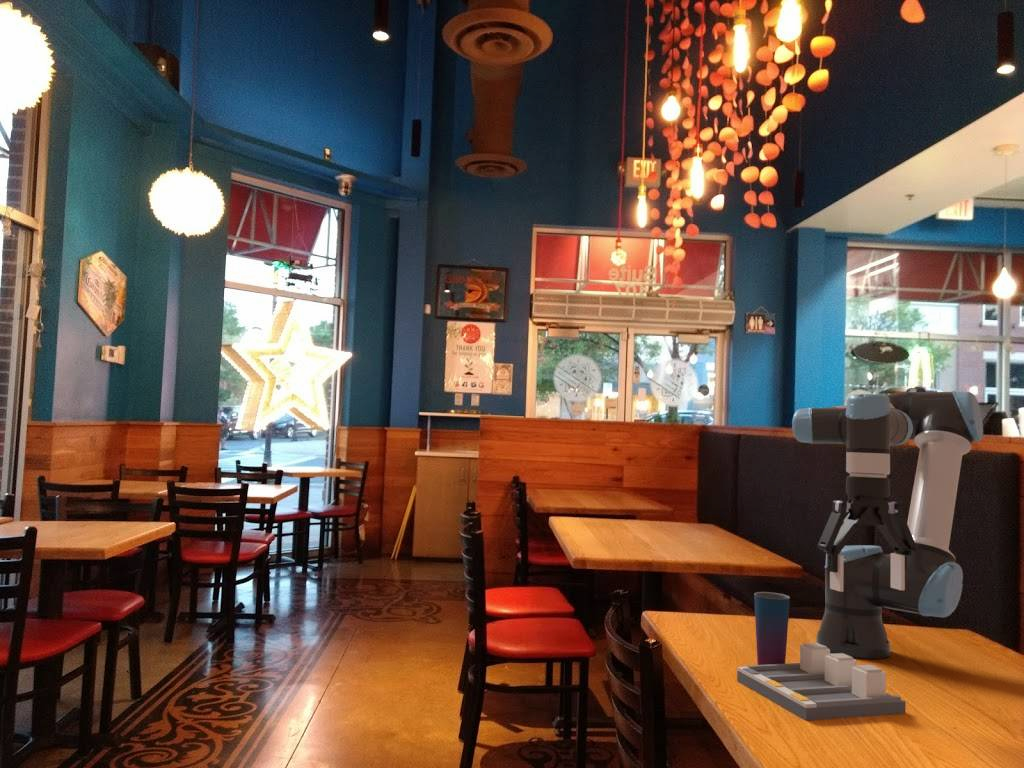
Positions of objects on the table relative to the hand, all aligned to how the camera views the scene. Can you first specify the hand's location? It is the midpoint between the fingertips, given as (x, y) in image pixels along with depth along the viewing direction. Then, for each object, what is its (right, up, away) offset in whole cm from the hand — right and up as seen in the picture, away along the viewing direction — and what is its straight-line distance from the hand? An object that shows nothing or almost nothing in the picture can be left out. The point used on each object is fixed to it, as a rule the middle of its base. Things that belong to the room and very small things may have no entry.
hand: (867, 589), depth 138 cm
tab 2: (-5, -16, -10) cm, 19 cm away
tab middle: (-7, -16, -3) cm, 18 cm away
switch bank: (-11, -18, -5) cm, 22 cm away
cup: (-15, -19, +9) cm, 26 cm away
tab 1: (-8, -17, +3) cm, 19 cm away
